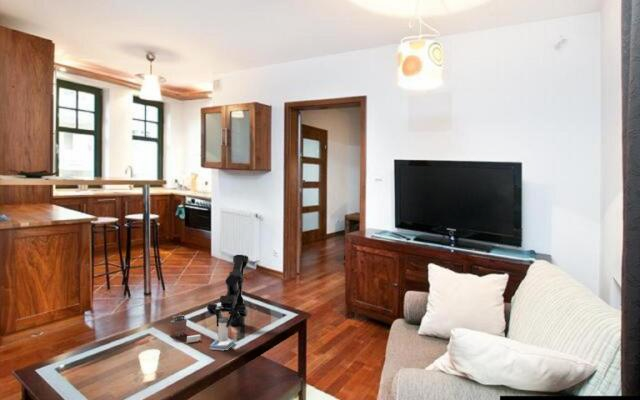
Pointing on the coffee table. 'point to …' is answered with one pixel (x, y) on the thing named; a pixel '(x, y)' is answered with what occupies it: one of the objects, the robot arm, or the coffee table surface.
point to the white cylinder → (223, 329)
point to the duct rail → (193, 338)
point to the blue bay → (221, 345)
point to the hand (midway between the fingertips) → (222, 326)
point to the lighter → (178, 325)
